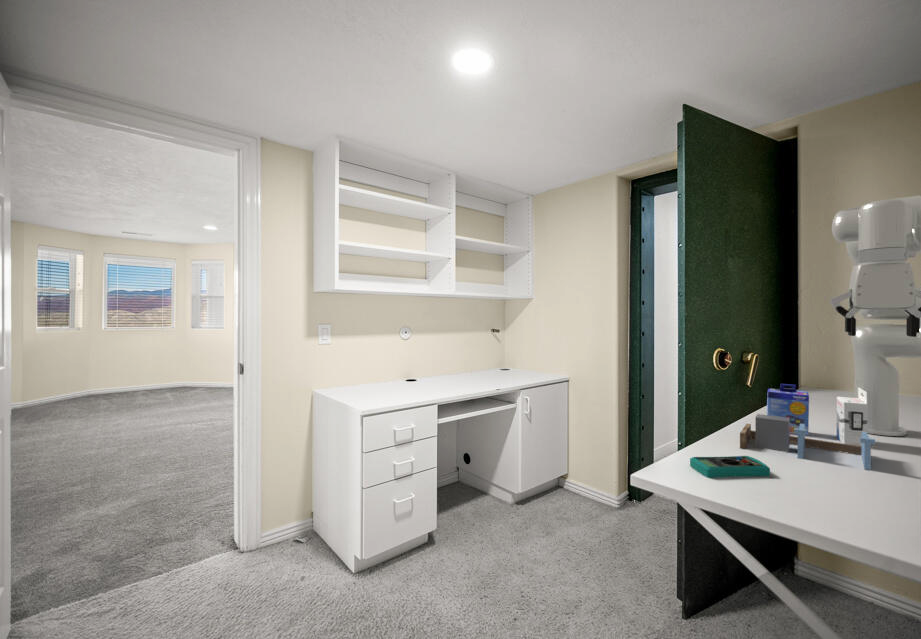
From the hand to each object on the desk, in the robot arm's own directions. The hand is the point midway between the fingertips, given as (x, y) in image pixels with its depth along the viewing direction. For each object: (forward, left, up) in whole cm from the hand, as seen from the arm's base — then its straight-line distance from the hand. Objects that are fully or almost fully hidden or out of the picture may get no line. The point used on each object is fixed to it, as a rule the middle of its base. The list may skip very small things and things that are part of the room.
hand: (880, 335), depth 94 cm
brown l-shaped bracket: (-7, -14, -31) cm, 34 cm away
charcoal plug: (-7, -20, -31) cm, 37 cm away
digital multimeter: (+19, -26, -31) cm, 45 cm away
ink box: (-25, -4, -31) cm, 40 cm away
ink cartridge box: (-27, -18, -31) cm, 45 cm away
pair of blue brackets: (-7, -8, -31) cm, 32 cm away
